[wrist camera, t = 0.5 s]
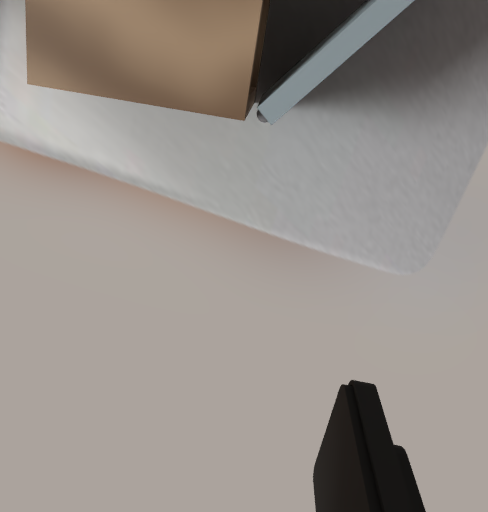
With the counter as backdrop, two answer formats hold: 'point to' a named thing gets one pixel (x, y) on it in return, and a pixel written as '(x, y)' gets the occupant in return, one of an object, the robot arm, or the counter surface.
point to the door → (327, 56)
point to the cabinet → (150, 51)
